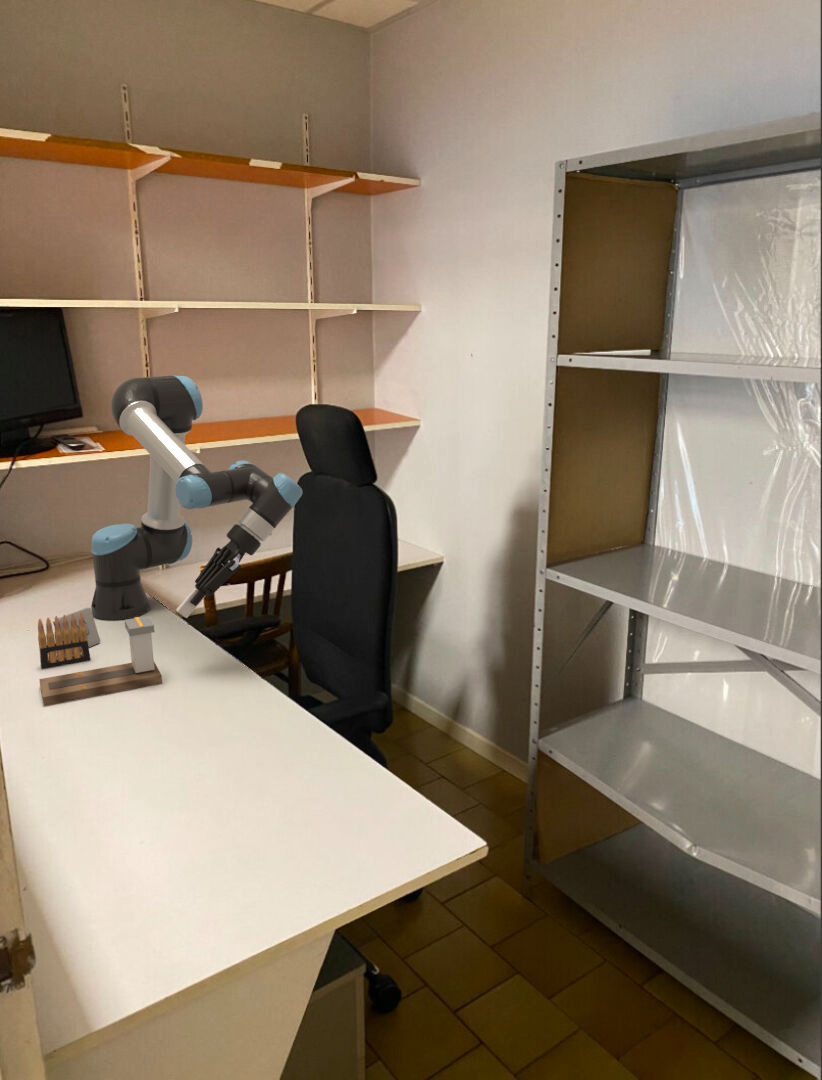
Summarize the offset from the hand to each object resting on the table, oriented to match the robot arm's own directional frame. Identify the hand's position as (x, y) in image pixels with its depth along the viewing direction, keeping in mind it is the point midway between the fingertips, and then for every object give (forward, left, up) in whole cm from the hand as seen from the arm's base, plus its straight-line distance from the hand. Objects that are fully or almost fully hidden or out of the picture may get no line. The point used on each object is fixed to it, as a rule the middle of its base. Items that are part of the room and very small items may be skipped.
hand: (181, 614), depth 184 cm
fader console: (+11, -14, -14) cm, 23 cm away
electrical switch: (-7, -32, -14) cm, 36 cm away
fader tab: (+5, -8, -11) cm, 15 cm away
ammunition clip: (+2, -29, -14) cm, 33 cm away
